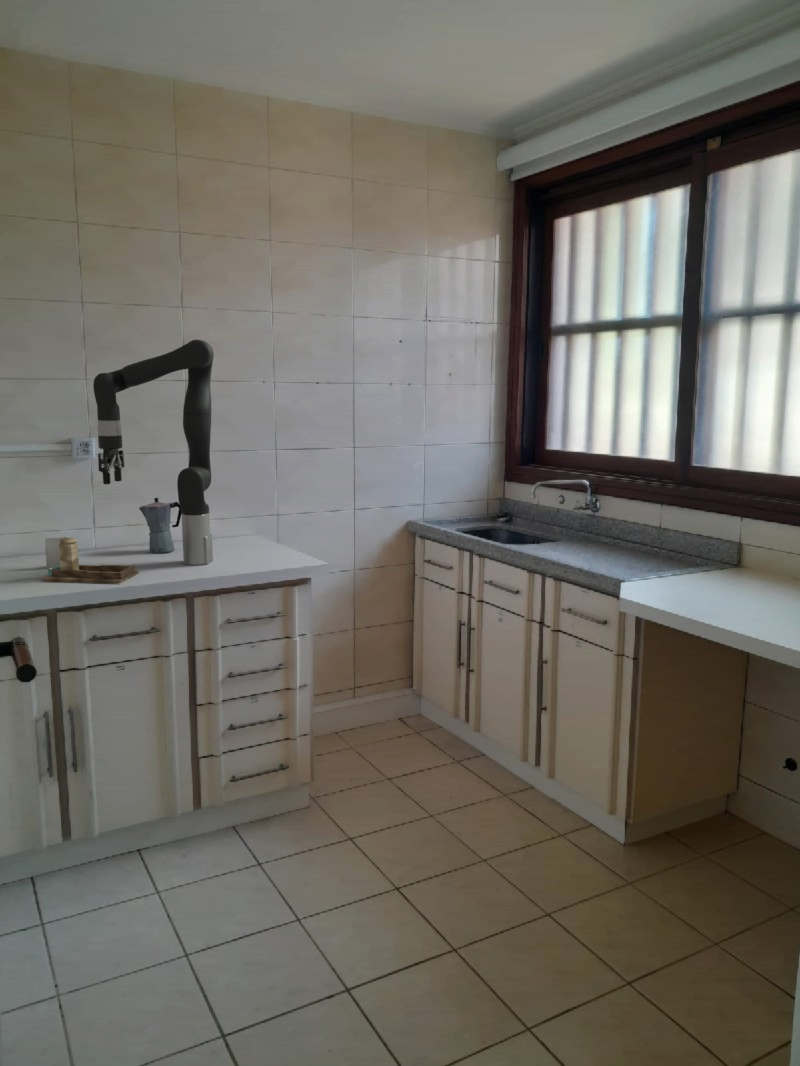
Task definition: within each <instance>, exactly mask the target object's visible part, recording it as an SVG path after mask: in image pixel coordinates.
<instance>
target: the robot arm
mask: <svg viewBox="0 0 800 1066" xmlns="http://www.w3.org/2000/svg"><path fill="white" fill-rule="evenodd" d="M214 356H215V354H214V350H213V347H212V346H211V345H210V344H209V342H207V341H206V340H203V339H193V340H190V341H188V342H187V343H185V344H184V345H182V346H180V347H178V348H175V349H174V350H171V351H169V352H167V353H165V354H164V353H163V354H161V355H158V356H157V355H156V356H154V357H150V358H148V359H143V360H140V361H137V362H133V363H131V364H127V365H125V366H123V367H122V368H120V369H117V370H114V371H110V372H101V373H98V374H97V375H96V376H95V377H94V379H93V384H92V385H93V394H94V399H95V403H96V408H97V409H96V412H97V425H96V426H97V440H98V441H97V442H98V448H99V449H100V450H103V451H102V452H98V454H97V457H98V459H97V460H98V461H97V463H98V471H99V472H101V474H102V483H103V485H110V484H111V481H112V480H111V469H112V468H113V477H114V481H115V482H121V481H122V476H123V475H122V471H123V469H124V468H125V458H124V457H125V456H124V450H121V449H122V448H123V435H122V434H123V431H122V424H121V413H120V412H121V411H120V405H119V404H118V402H117V395H116V394H118V393H119V392H123V391H125V390H127V389H129V388H133V387H136V386H137V387H138V386H139V385H144V384H146V383H149V382H153V381H155V380H158V379H160V378H161V377H164V376H166V375H168V374H171V373H174V372H178V371H183V370H187V380H188V381H187V387H186V392H185V397H184V400H183V401H184V403H183V410H182V427H183V428H182V429H183V433H184V436H185V439H186V443H187V446H188V454H189V455H188V467H186V468H184V469H182V470H180V472H179V473H178V476H177V482H176V483H177V486H176V487H177V500H178V503H179V505H180V508H181V512H182V514H181V531H182V532H181V533H182V534H181V535H182V552H183V557H182V558H183V564H185V565H191V566H192V565H193V566H199V565H200V566H201V565H209V564H210V563H211V561H212V562H213V561H214V555H213V553H214V552H213V551H214V549H213V534H212V533H211V529H210V528H211V525H210V523H211V522H210V506H209V504H208V503H207V502H206V500H205V491H207V490H208V489H209V488H210V486H211V482H212V469H211V467H212V466H211V452H210V451H211V429H212V394H211V393H212V392H211V378H212V369H213V361H214ZM208 563H209V564H208Z"/></svg>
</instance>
